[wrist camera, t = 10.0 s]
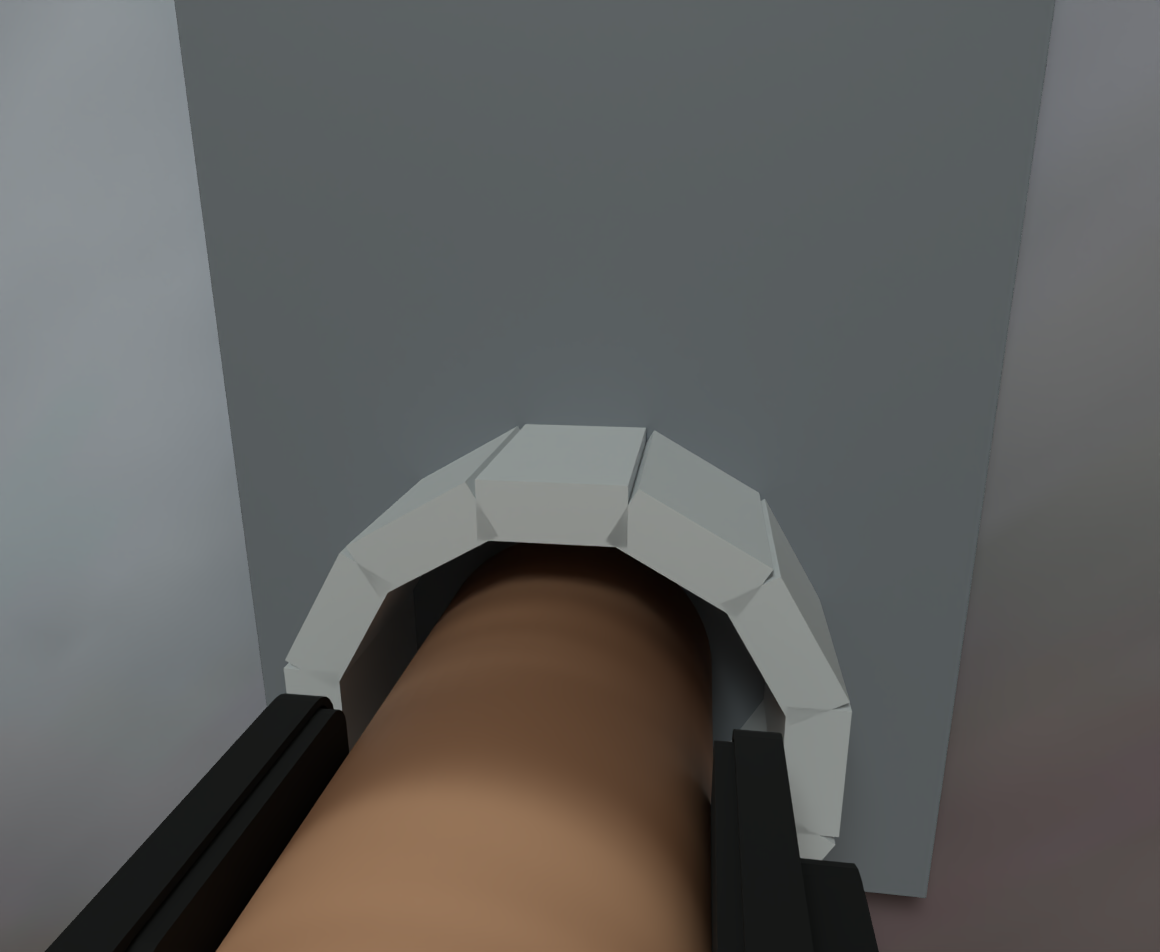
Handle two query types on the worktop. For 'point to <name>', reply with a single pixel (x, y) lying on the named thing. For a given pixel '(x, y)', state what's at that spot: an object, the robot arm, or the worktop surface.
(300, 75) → the bracket board
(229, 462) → the worktop surface
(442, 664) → the rail post
